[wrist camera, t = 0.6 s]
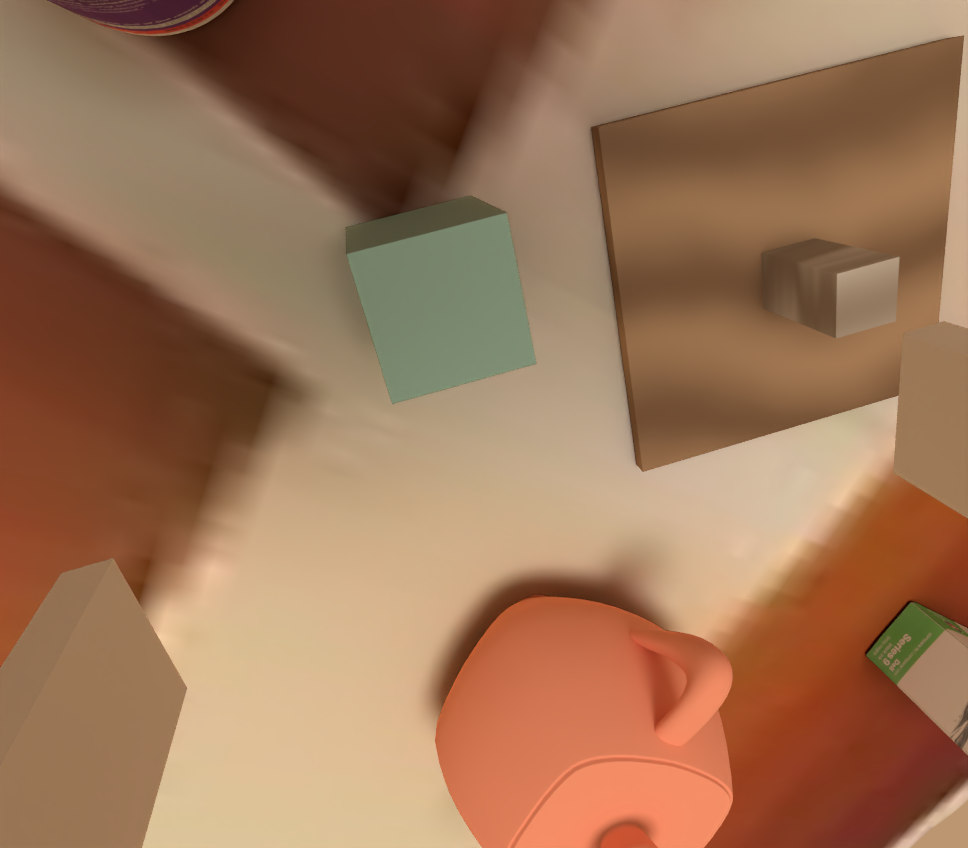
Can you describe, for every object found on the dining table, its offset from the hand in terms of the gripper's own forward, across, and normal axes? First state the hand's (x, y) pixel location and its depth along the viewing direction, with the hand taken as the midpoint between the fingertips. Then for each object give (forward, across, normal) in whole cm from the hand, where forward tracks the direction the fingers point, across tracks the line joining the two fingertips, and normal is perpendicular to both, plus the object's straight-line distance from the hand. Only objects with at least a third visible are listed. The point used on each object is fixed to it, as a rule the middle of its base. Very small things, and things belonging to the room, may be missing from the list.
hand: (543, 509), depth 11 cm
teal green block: (+19, 0, 0) cm, 19 cm away
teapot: (+19, +1, -24) cm, 30 cm away
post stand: (+19, +16, -4) cm, 25 cm away
